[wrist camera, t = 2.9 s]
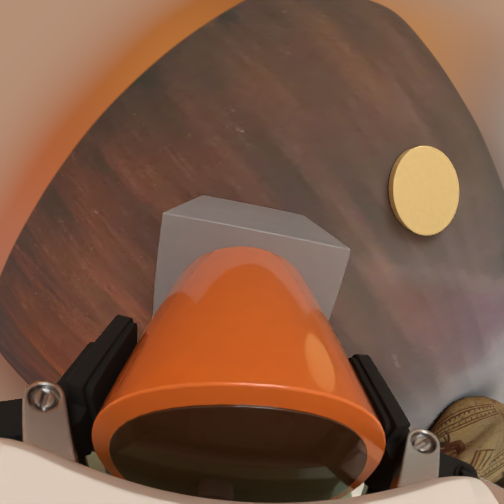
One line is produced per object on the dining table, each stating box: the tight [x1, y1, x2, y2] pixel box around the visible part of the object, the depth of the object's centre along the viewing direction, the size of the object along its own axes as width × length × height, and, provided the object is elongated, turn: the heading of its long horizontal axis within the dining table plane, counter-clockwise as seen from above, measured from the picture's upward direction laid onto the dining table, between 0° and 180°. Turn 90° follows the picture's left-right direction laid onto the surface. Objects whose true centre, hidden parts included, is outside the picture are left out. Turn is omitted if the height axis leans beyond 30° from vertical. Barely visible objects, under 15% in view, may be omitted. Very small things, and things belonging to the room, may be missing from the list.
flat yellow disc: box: [389, 146, 459, 236], centre depth 24 cm, size 9×9×1 cm
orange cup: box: [92, 246, 386, 503], centre depth 9 cm, size 7×7×9 cm
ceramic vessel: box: [429, 396, 504, 488], centre depth 21 cm, size 19×21×30 cm
